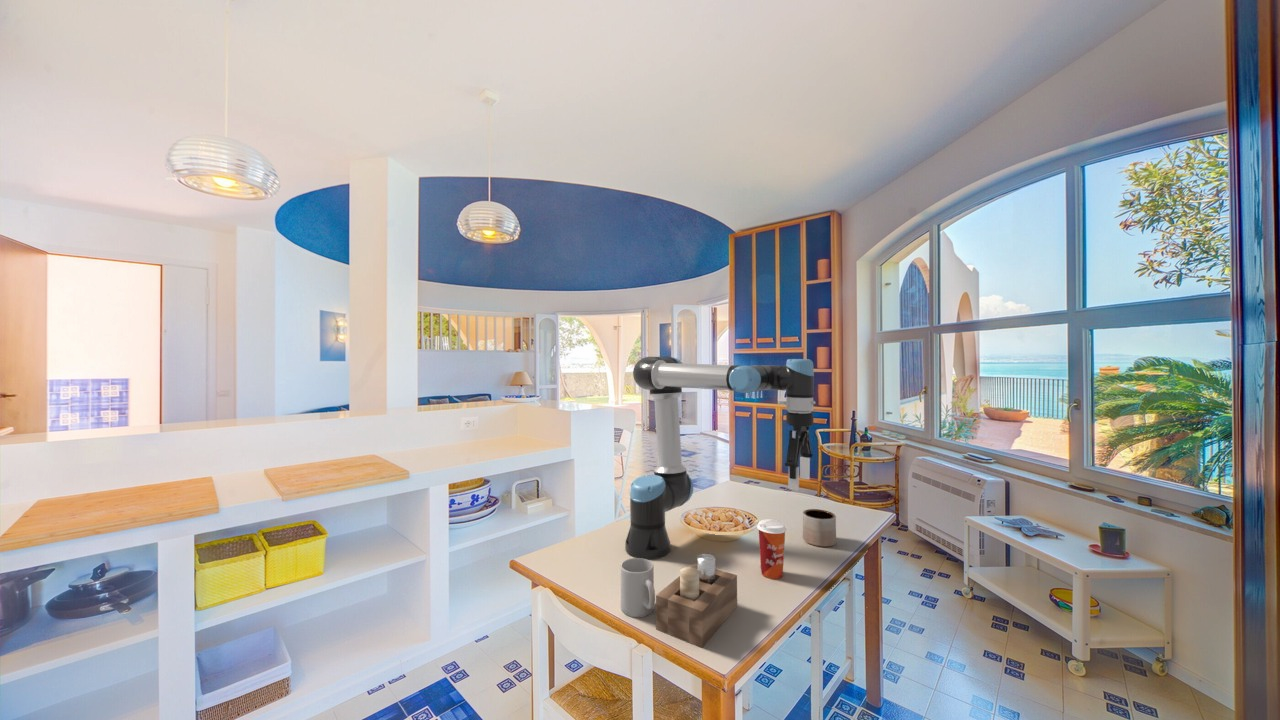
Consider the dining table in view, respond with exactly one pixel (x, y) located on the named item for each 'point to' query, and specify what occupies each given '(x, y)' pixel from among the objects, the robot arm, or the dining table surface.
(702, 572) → the aluminium peg
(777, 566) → the coffee cup
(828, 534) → the planter
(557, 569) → the dining table surface
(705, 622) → the walnut socket block
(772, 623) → the dining table surface
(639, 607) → the mug
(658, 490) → the robot arm
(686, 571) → the beech peg
